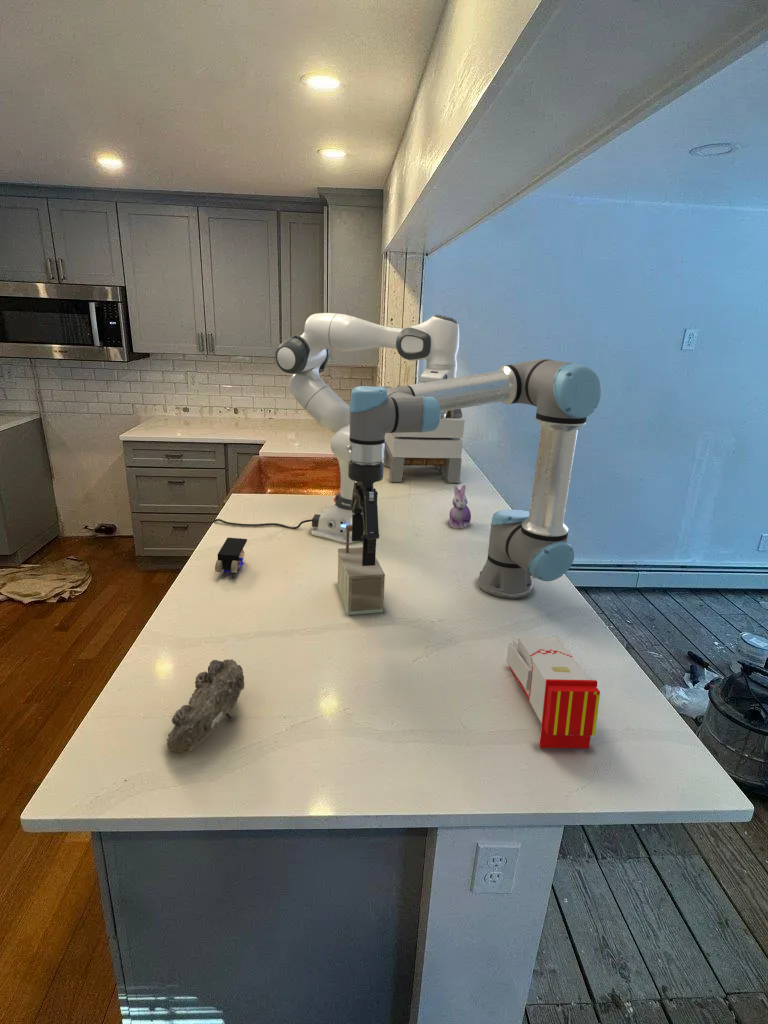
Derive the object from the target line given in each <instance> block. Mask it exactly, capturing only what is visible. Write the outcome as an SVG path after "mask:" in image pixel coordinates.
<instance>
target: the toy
mask: <svg viewBox="0 0 768 1024" xmlns="http://www.w3.org/2000/svg"><path fill="white" fill-rule="evenodd" d="M505 659H506V660H505V661H506V663H507V664H508V666H509V667H508V669H510V671H511V673H512V674H513V676H514V678H515V680H516V681H517V683H518V685H519V686H520V688H521V689H522V691H523V693H524V694H525V696H526V698H527V700H529V703H530V705H531V707H532V708H533V711H534V712H535V715H536V716H537V718H538V720H539V722H540V725H541V726H540V736H539V744H538V746H539V748H540V749H590V746H591V736H592V737H595V735H596V731H597V730H596V729H597V722H598V721H597V720H598V714H599V713H598V712H599V703H600V697H601V691H600V690H599V688H598V680H596V679H591V678H590V677H589V675H588V674H587V673H586V672H585V670H584V669H583V668H582V667H581V665H580V664H579V663H578V661H577V660H576V659H575V657H574V656H573V655H572V653H570V650H569V649H568V648H567V647H566V645H564V643H563V642H562V641H561V639H560V638H559V637H548V636H547V637H546V636H545V637H543V636H518V638H517V637H515V638H512V643H511V642H508V646H507V653H506V658H505Z"/></svg>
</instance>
